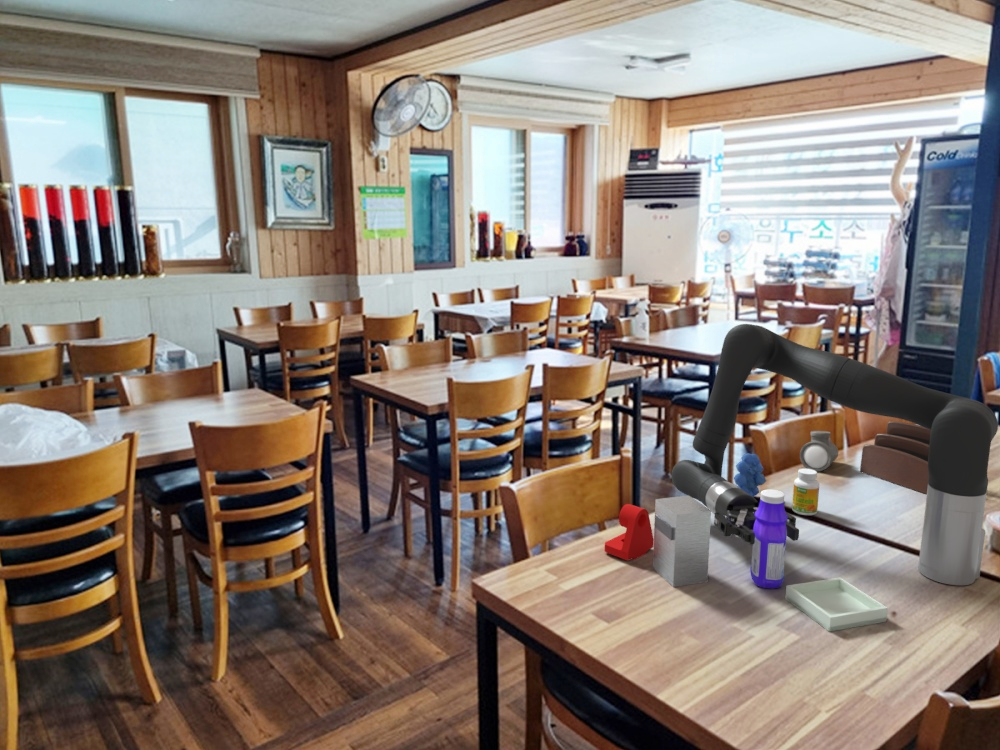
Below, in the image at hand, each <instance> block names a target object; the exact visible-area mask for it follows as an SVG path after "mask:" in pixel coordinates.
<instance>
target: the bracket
mask: <svg viewBox="0 0 1000 750" xmlns="http://www.w3.org/2000/svg"><path fill="white" fill-rule="evenodd" d="M650 520H651V519H650V514H649V511H648V510H647V509H646V508H643V507H640V506H636V505H633V504H630V503H626V504H624V505H623V506H622V507H621V509H620V512H619V515H618V522H619V525H620V526H621V527H623V528H626V530H625V532H623V533H621V534H620V535H617V536H615V537H613V538H611V539H608V540H607V541H605V542H604V550H603V551H604V552H605V553H607V554H609V555H612V556H614V557H617V558H620V559H623V560H625V561H628V562H629V561H630V560H634V561H635V560H637V559H639V558H640V557H642V556H644V555H646V554H648V551H649V550H651V549H652V548H654V533H653V529H652V526H651V525H652V524H651V521H650Z"/></svg>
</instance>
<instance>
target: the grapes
mask: <svg viewBox="0 0 1000 750" xmlns="http://www.w3.org/2000/svg"><path fill="white" fill-rule="evenodd" d="M740 459H741V460H740V461H738V462H737V463H736V465H735V467H736V470H737V472H738V473H737V474H735V475H734V476H733V481H734V483H735V485H736V486H738V487H739V488H741V489H742V490H744V491H745V492H747V493H748V494H749V495H751V496H752V497H756V496H758V494H760V490H759V486H762V485H764V484H765V483H766V482H767V479H766V477H765V475H764V474H763V473H762V472H763V471H764V467H763V465H762V463H761V460H760V458H759V456H758V454H756V453H752V454H751V453H745V454H742V456H741V458H740Z"/></svg>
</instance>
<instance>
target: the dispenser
mask: <svg viewBox="0 0 1000 750" xmlns="http://www.w3.org/2000/svg"><path fill="white" fill-rule="evenodd" d="M654 500H655V502H654V503H655V505H654V507H655V508H654V529H653V532H654V533H653V539H654V543H653V555H652V558H653V559H652V568H653V569H654V571H656V572H657V573H658V574H659V575H660V576H661V577H662V578H663V579H664V580H665V581H666V582H668V584H669V585H670V586H672V587H673V588H675V587H682V586H688V585H695V584H702V583H708V579H709V578H708V575H709V574H708V573H709V556H710V539H711V537H710V536H711V520H712V512H711V510H710V509H709V508H707V507H706V506H705V505H704V504H703V503H702V502H700V501H698V500H696V499H694V498H692V497H690V496H689V495H680V496H672V497H663V498H655V499H654Z"/></svg>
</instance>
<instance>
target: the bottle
mask: <svg viewBox="0 0 1000 750" xmlns="http://www.w3.org/2000/svg"><path fill="white" fill-rule="evenodd" d="M758 504H759V507H758V509H757V511H756V512H755V517H756V520H755V523H754V528H753V530H752V532H754V533H755V543H754V544H752V551H751V561H750V562H751V563H750V576H751V580H752V582H753V583H754V584H755V585H756V587H757V586H758V587H759V588H764V589H779V588H781V587H782V585H783V582H784V578H785V577H784V572H785V571H784V570H785V556H786V546H787V545H786V543H787V538H788V537H787V529H786V523H785V522H786V521H787V519H788V516H787V515H786V512H787V511H786V510H785V493H784V492H782V491H780V490H777V489H771V488H770V489H764V490H761V492H760V499H759V503H758ZM785 511H786V512H785Z"/></svg>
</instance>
